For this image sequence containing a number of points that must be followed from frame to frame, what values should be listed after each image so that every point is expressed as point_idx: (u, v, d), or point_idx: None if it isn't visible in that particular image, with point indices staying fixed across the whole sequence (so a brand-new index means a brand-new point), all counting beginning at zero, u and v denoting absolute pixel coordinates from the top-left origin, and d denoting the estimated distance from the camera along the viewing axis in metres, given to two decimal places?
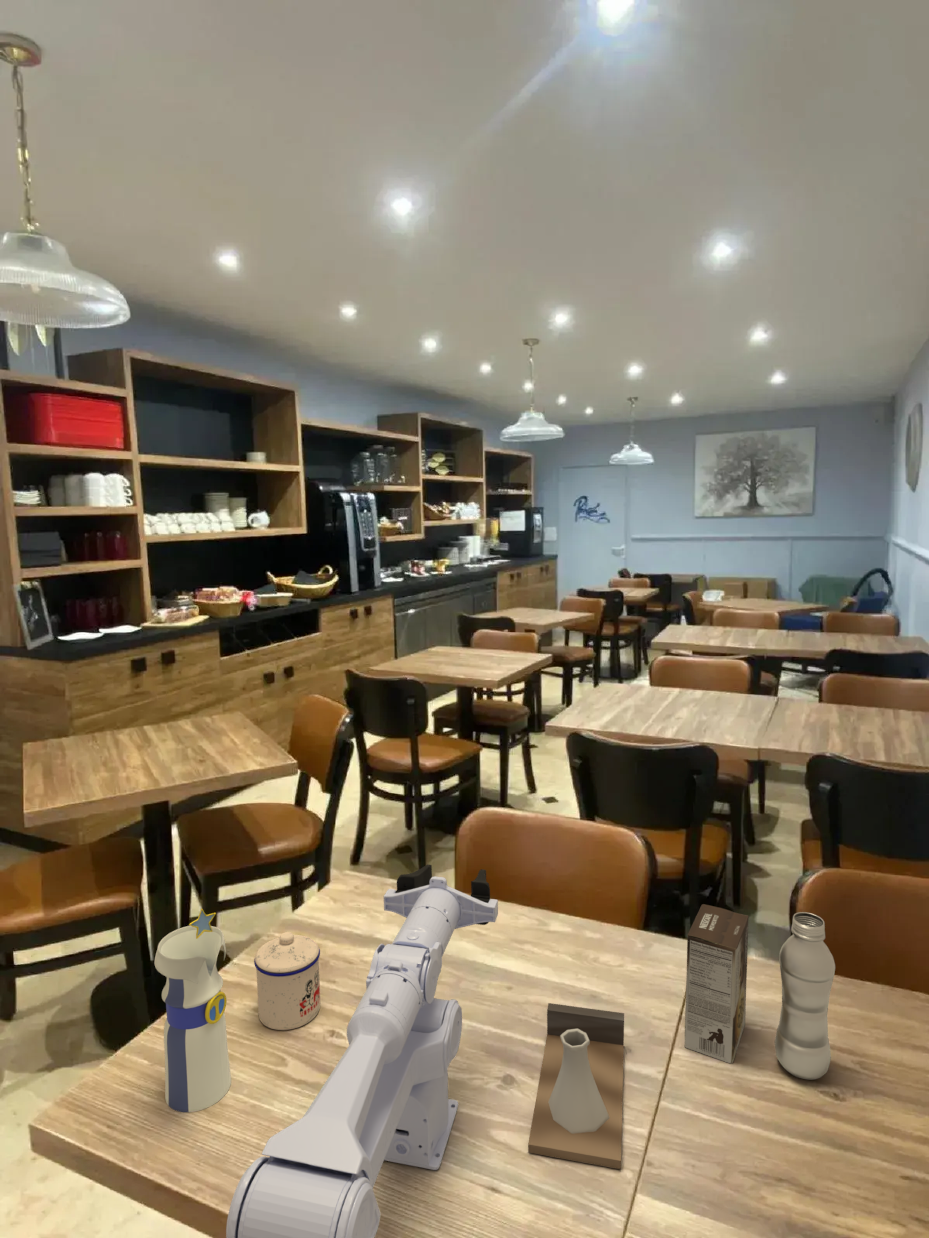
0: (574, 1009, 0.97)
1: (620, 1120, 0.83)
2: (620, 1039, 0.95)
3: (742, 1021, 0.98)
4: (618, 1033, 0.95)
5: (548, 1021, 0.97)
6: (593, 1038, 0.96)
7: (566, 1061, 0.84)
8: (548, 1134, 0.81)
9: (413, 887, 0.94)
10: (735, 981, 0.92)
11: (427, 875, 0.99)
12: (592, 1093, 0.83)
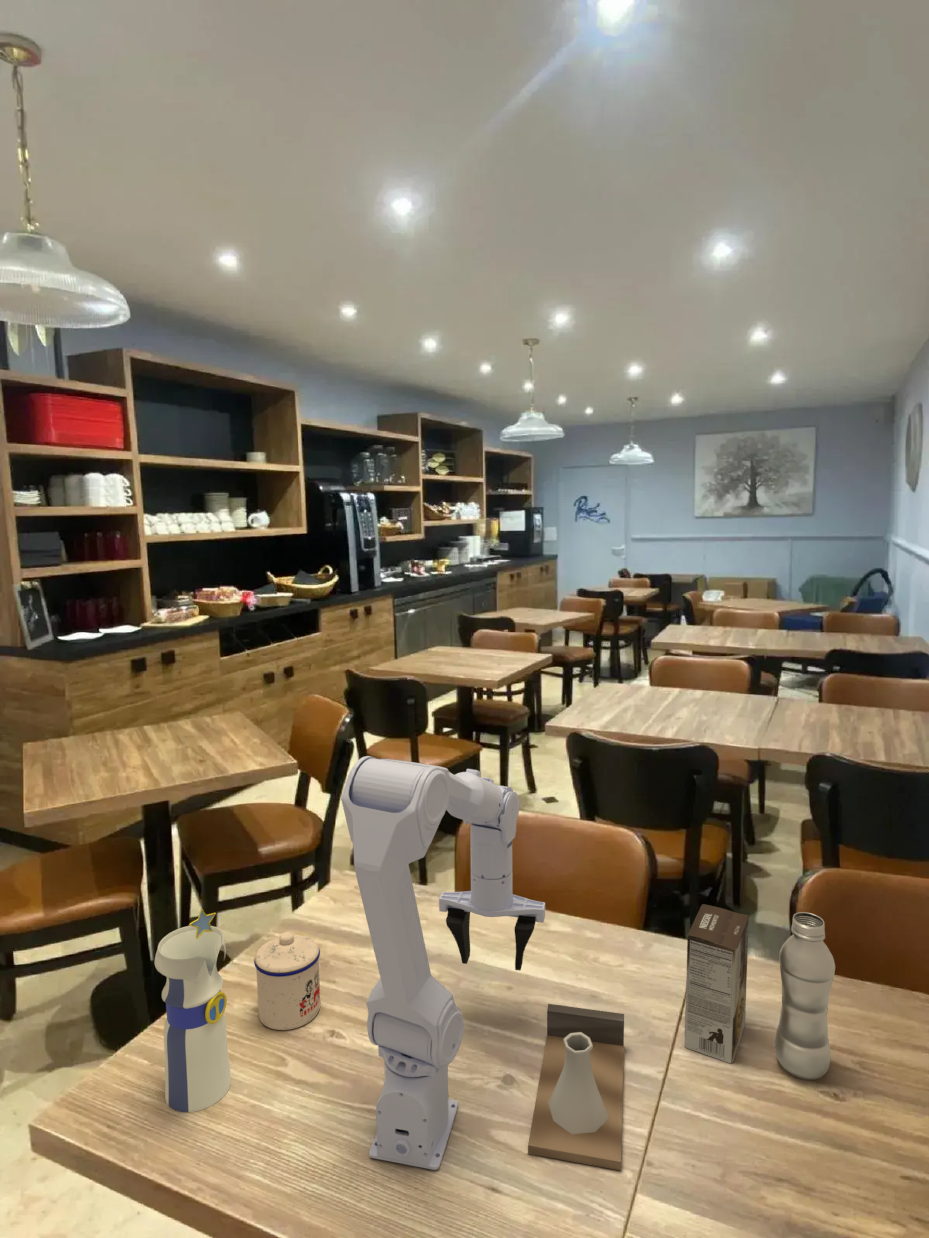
0: (574, 1010, 0.97)
1: (620, 1121, 0.83)
2: (620, 1040, 0.95)
3: (742, 1021, 0.98)
4: (618, 1034, 0.95)
5: (548, 1022, 0.97)
6: (593, 1038, 0.96)
7: (584, 1068, 0.83)
8: (548, 1135, 0.81)
9: None
10: (735, 981, 0.92)
11: (468, 945, 1.02)
12: None
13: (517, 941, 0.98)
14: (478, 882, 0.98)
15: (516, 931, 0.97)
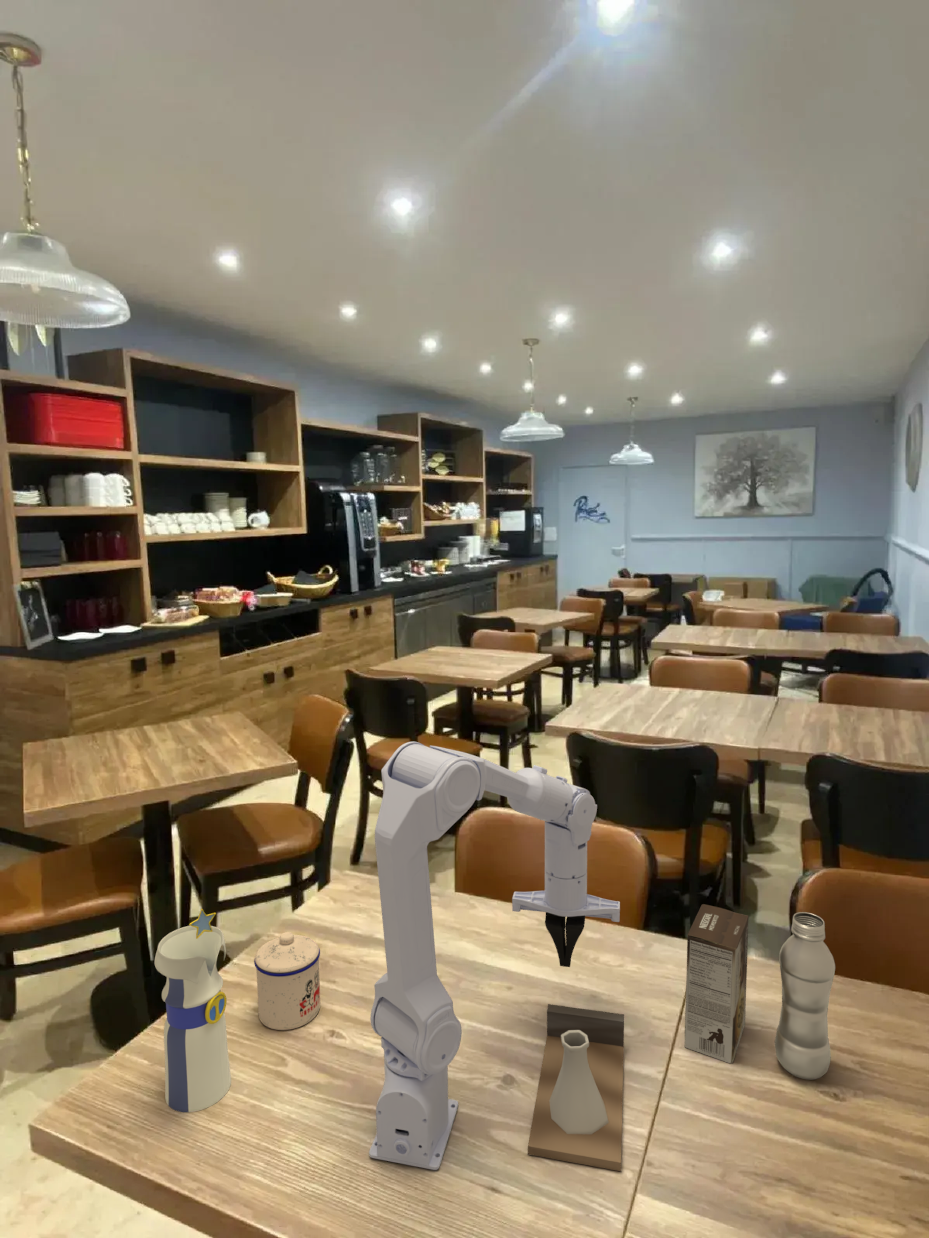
0: (574, 1010, 0.97)
1: (620, 1122, 0.83)
2: (620, 1040, 0.95)
3: (742, 1021, 0.98)
4: (618, 1034, 0.95)
5: (548, 1022, 0.97)
6: (593, 1039, 0.96)
7: None
8: (548, 1136, 0.81)
9: None
10: (735, 981, 0.92)
11: (565, 948, 1.01)
12: None
13: (567, 938, 0.99)
14: (554, 882, 0.97)
15: (567, 928, 0.98)
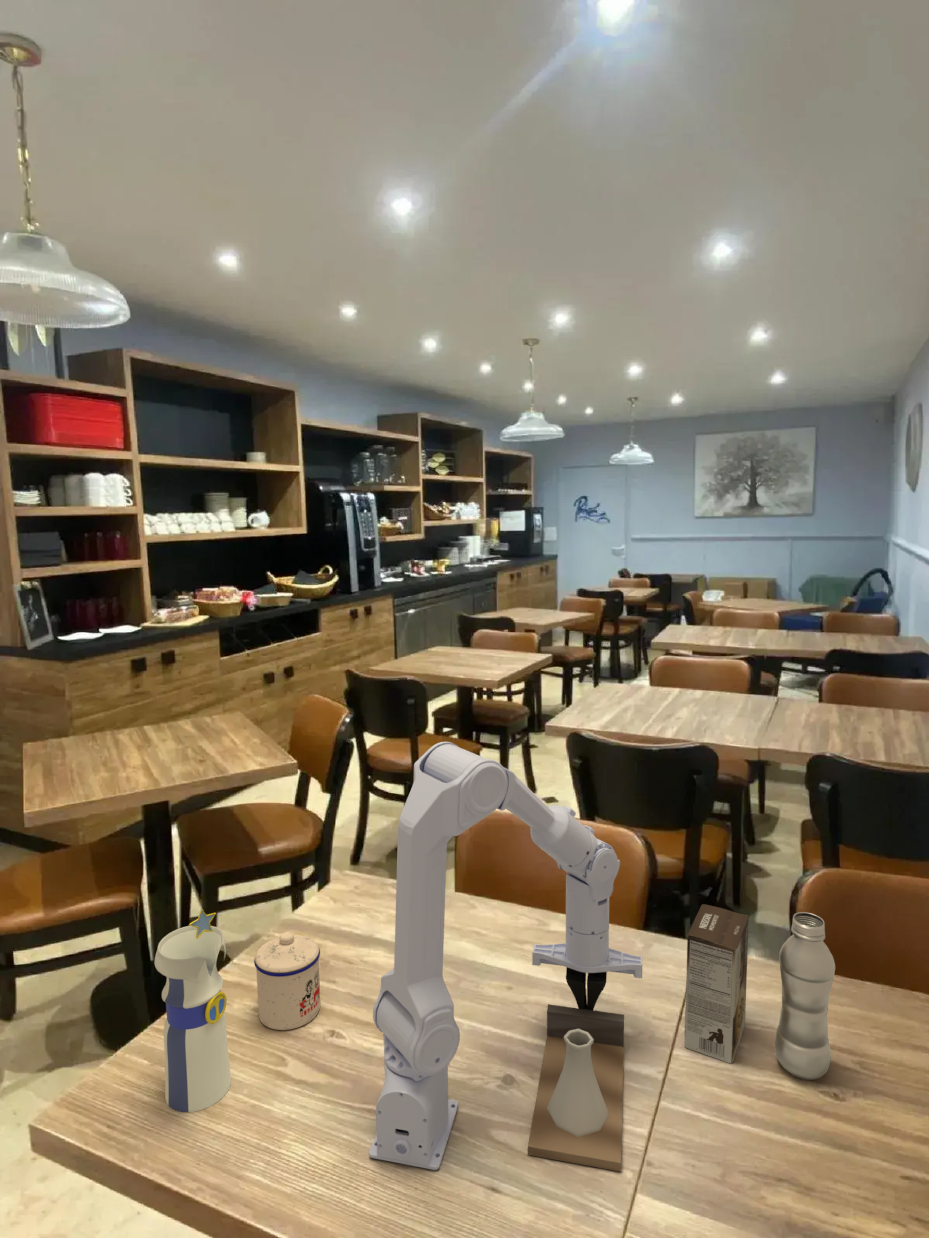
0: (574, 1010, 0.97)
1: (620, 1122, 0.83)
2: (620, 1040, 0.95)
3: (742, 1021, 0.98)
4: (618, 1034, 0.95)
5: (548, 1022, 0.97)
6: None
7: None
8: (548, 1136, 0.81)
9: None
10: (735, 981, 0.92)
11: (586, 1003, 0.99)
12: (570, 1097, 0.83)
13: (589, 994, 0.97)
14: (576, 937, 0.96)
15: (588, 984, 0.96)
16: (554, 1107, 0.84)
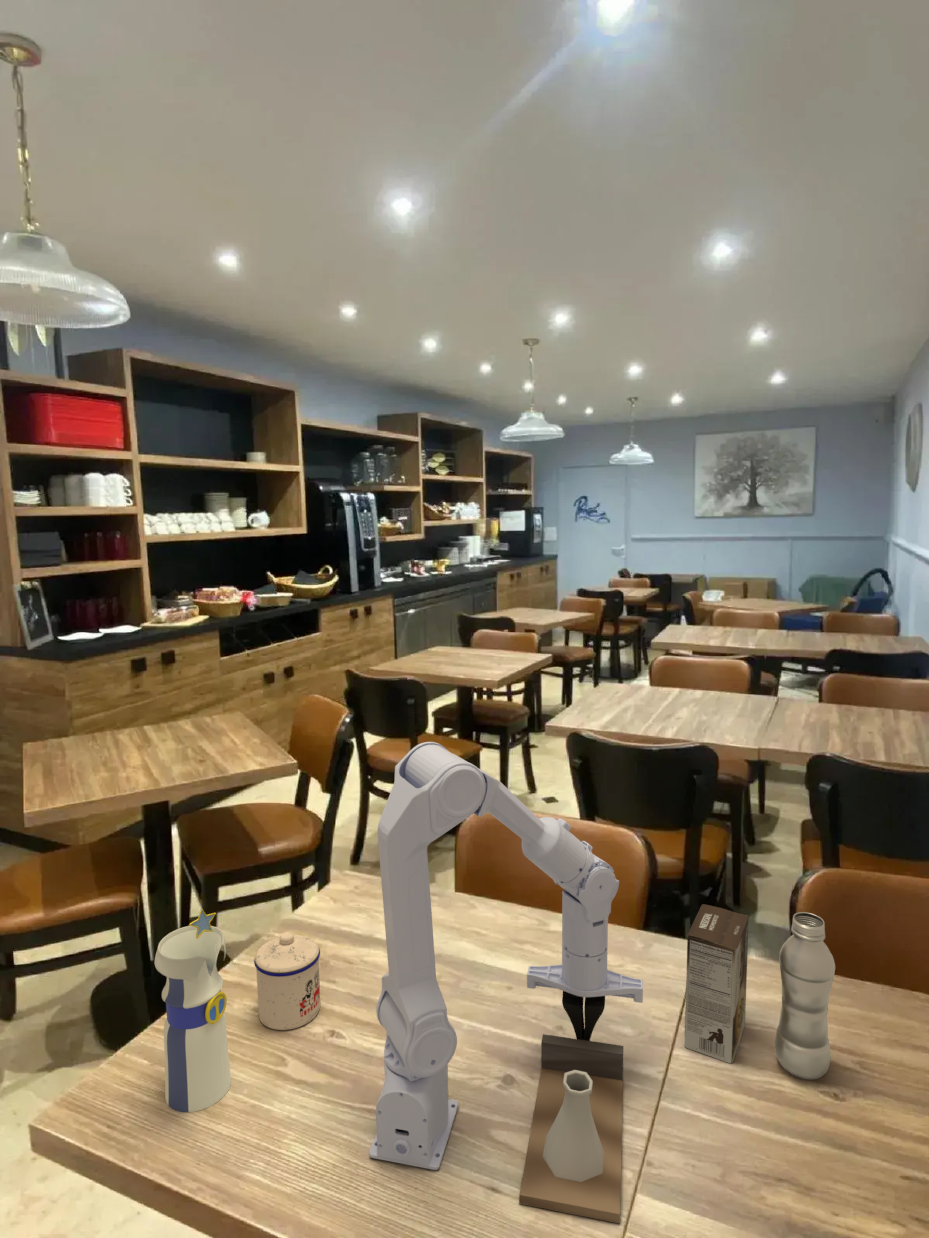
0: (570, 1041, 0.91)
1: (619, 1167, 0.77)
2: (619, 1074, 0.89)
3: (742, 1021, 0.98)
4: (617, 1067, 0.89)
5: (542, 1054, 0.91)
6: (591, 1072, 0.90)
7: (564, 1102, 0.78)
8: (541, 1183, 0.75)
9: None
10: (735, 981, 0.92)
11: (583, 1027, 0.94)
12: (586, 1145, 0.76)
13: (586, 1019, 0.92)
14: (572, 959, 0.91)
15: (586, 1009, 0.91)
16: (568, 1169, 0.76)
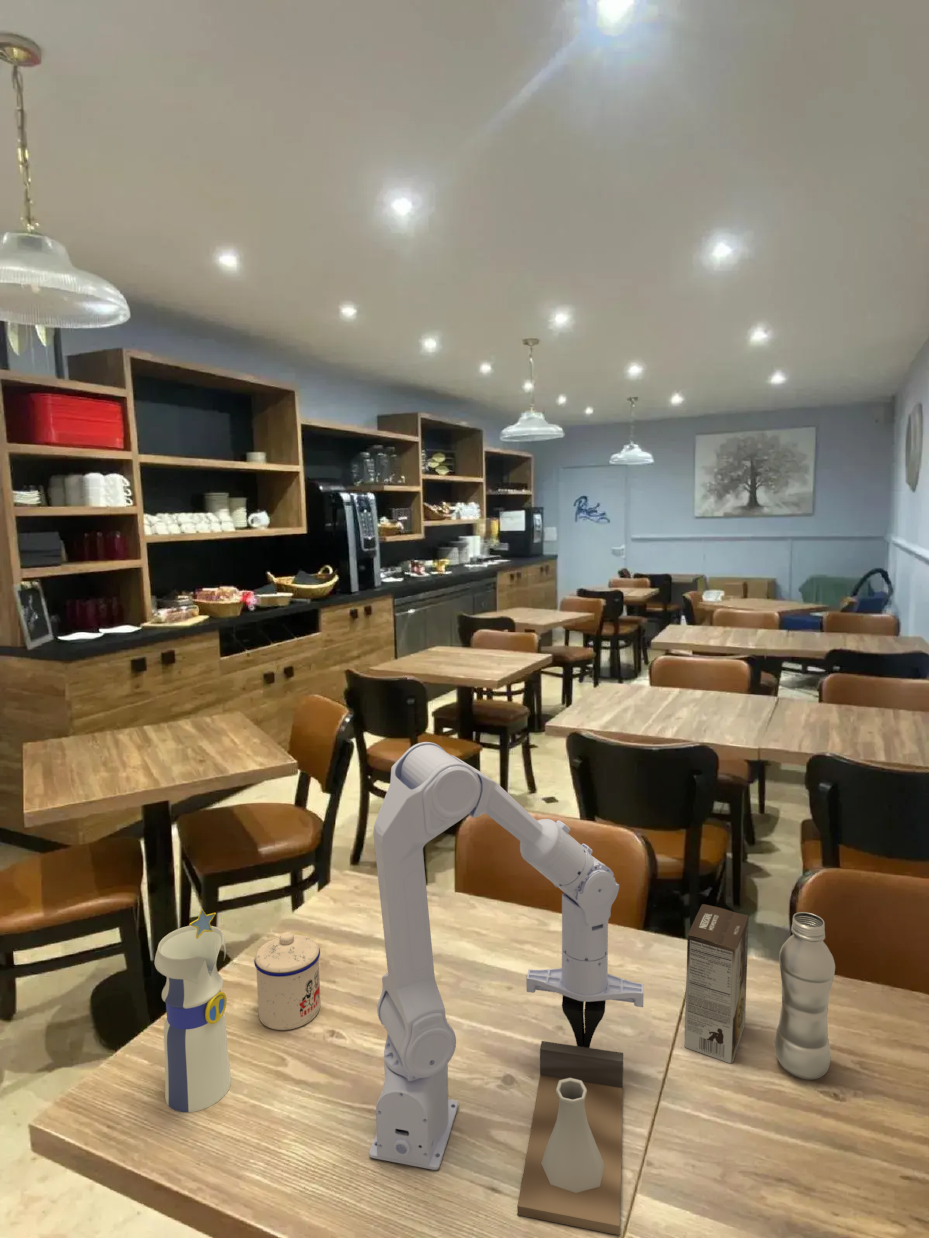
0: (569, 1048, 0.90)
1: (619, 1177, 0.76)
2: (619, 1081, 0.88)
3: (742, 1021, 0.98)
4: (617, 1075, 0.88)
5: (541, 1061, 0.90)
6: (590, 1079, 0.89)
7: (573, 1120, 0.75)
8: (540, 1194, 0.74)
9: None
10: (735, 981, 0.92)
11: (583, 1032, 0.94)
12: None
13: (586, 1023, 0.91)
14: (572, 963, 0.90)
15: (586, 1013, 0.90)
16: (599, 1166, 0.76)
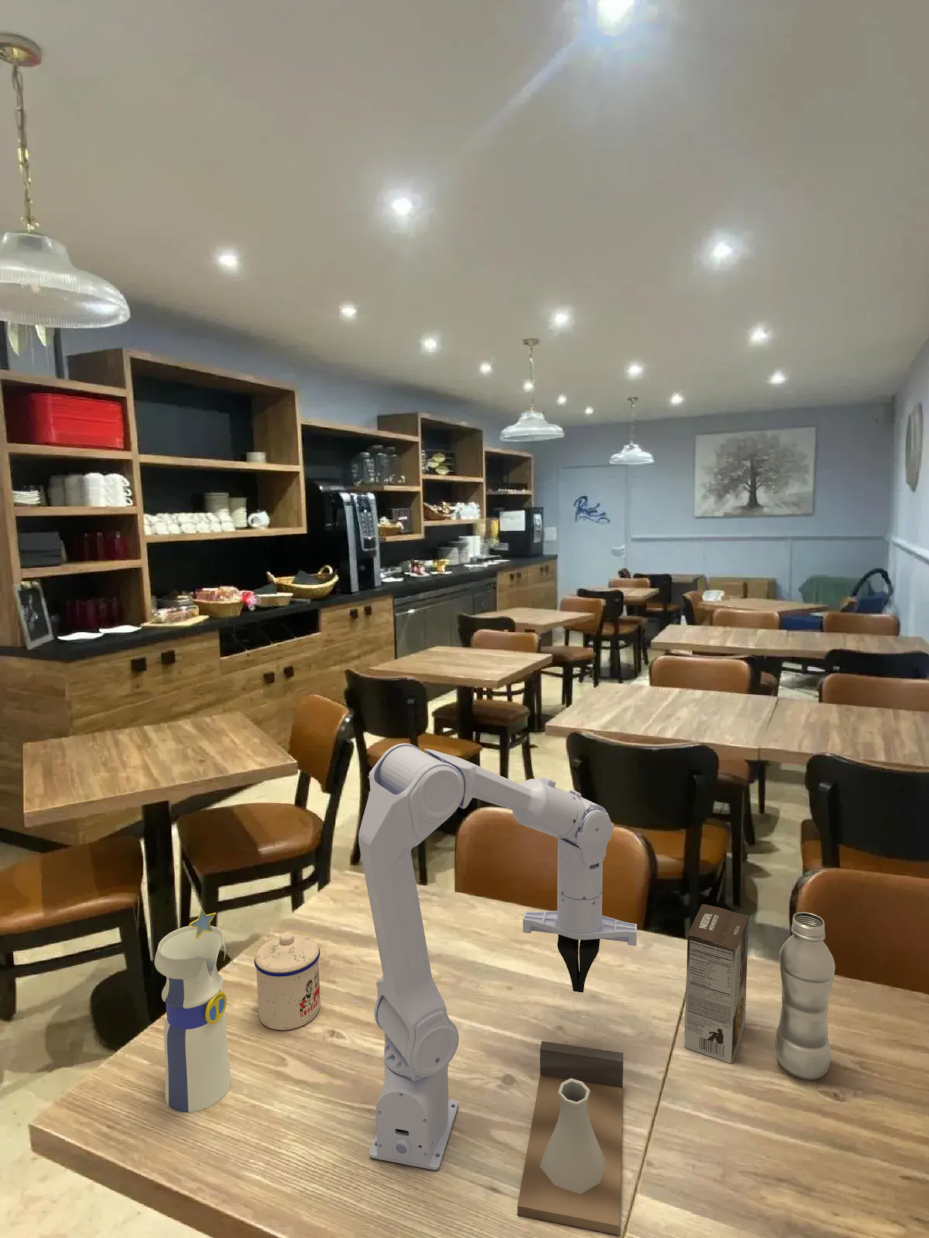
0: (569, 1048, 0.90)
1: (619, 1177, 0.76)
2: (619, 1081, 0.88)
3: (742, 1021, 0.98)
4: (617, 1075, 0.88)
5: (541, 1061, 0.90)
6: (590, 1079, 0.89)
7: (584, 1117, 0.76)
8: (540, 1194, 0.74)
9: None
10: (735, 981, 0.92)
11: (578, 972, 0.96)
12: None
13: (581, 962, 0.93)
14: (567, 902, 0.92)
15: (581, 951, 0.92)
16: None
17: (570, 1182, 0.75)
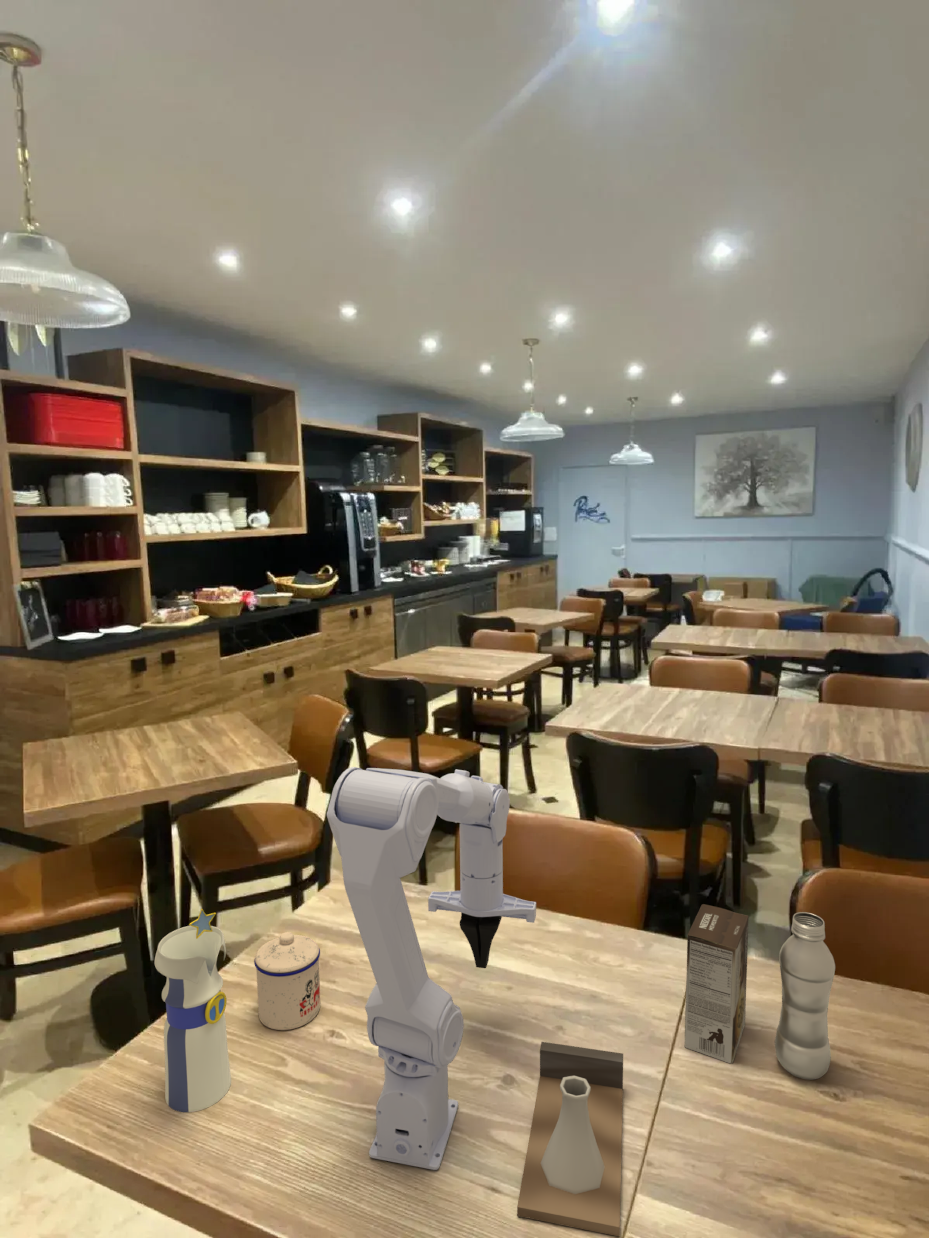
0: (569, 1049, 0.90)
1: (619, 1178, 0.76)
2: (619, 1082, 0.88)
3: (742, 1021, 0.98)
4: (617, 1076, 0.88)
5: (541, 1062, 0.90)
6: (590, 1080, 0.89)
7: None
8: (540, 1195, 0.74)
9: None
10: (735, 981, 0.92)
11: None
12: (554, 1141, 0.77)
13: (482, 938, 0.97)
14: (467, 881, 0.96)
15: (481, 928, 0.96)
16: (547, 1145, 0.79)
17: None
